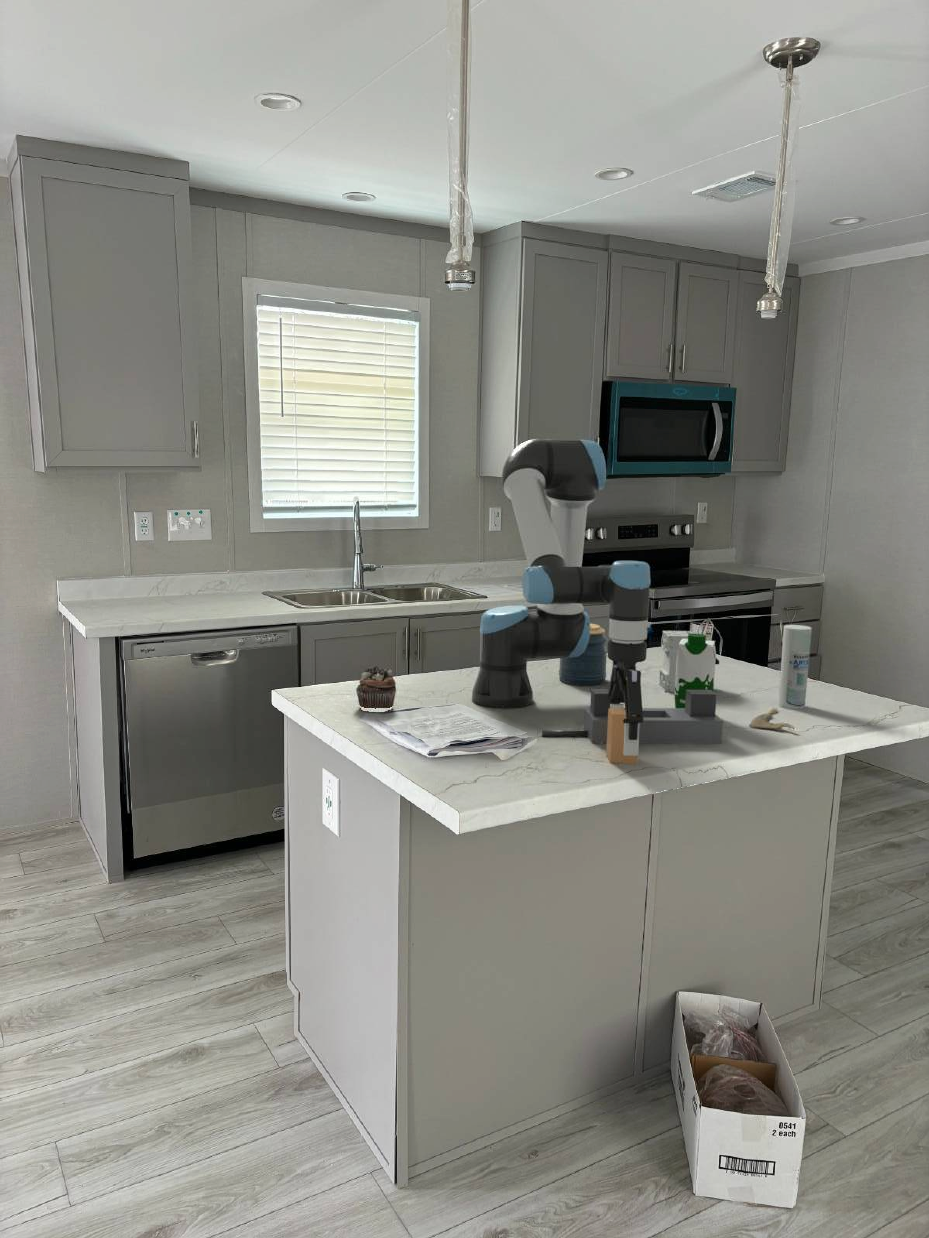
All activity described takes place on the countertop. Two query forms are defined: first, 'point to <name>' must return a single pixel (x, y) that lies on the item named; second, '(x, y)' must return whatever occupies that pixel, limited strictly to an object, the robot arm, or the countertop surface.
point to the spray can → (794, 666)
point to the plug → (617, 738)
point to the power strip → (657, 720)
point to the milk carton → (694, 666)
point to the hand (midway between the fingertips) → (622, 744)
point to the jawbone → (763, 722)
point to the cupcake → (376, 689)
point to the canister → (587, 661)
